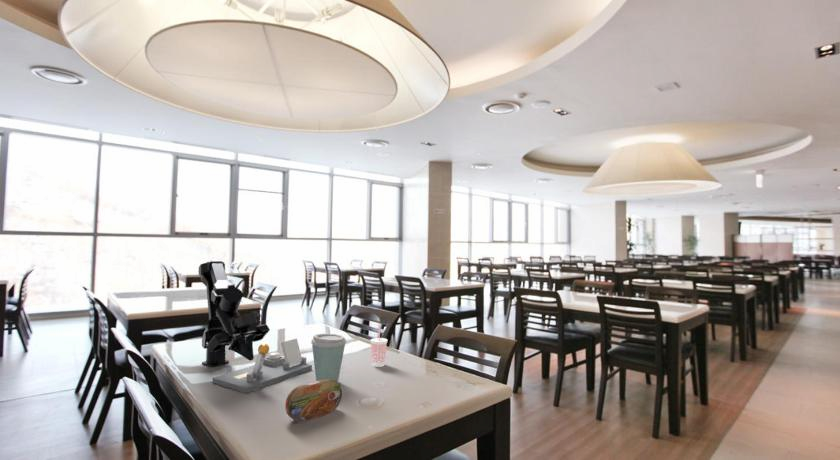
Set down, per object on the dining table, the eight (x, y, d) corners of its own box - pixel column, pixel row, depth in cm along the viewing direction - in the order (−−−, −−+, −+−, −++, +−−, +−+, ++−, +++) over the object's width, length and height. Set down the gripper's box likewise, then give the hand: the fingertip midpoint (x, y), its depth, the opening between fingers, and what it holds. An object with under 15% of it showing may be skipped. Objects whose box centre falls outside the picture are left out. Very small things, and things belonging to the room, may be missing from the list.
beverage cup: (388, 362, 149) (389, 324, 149) (385, 367, 142) (386, 328, 143) (372, 361, 149) (373, 323, 150) (368, 367, 143) (369, 327, 143)
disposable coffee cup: (333, 375, 134) (334, 329, 134) (351, 384, 126) (353, 335, 126) (303, 382, 126) (305, 334, 127) (321, 392, 119) (323, 341, 119)
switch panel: (212, 382, 125) (212, 371, 125) (280, 361, 148) (280, 351, 148) (245, 393, 117) (246, 381, 117) (312, 369, 139) (312, 358, 140)
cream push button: (266, 360, 140) (266, 354, 140) (274, 357, 143) (275, 351, 143) (273, 361, 138) (273, 355, 138) (281, 359, 141) (282, 353, 141)
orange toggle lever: (247, 375, 123) (257, 343, 122) (256, 372, 126) (266, 340, 124) (253, 381, 122) (263, 348, 120) (262, 378, 125) (272, 346, 123)
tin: (288, 426, 97) (289, 391, 97) (283, 422, 99) (284, 387, 99) (342, 409, 107) (343, 377, 107) (335, 405, 110) (336, 374, 110)
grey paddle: (286, 366, 136) (281, 342, 137) (300, 361, 141) (294, 339, 142) (288, 365, 135) (283, 341, 137) (302, 361, 140) (296, 338, 142)
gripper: (215, 307, 120) (237, 351, 114) (267, 300, 136) (288, 337, 131) (198, 330, 124) (219, 373, 118) (250, 320, 140) (271, 358, 134)
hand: (251, 359), depth 125 cm, fingers closed
